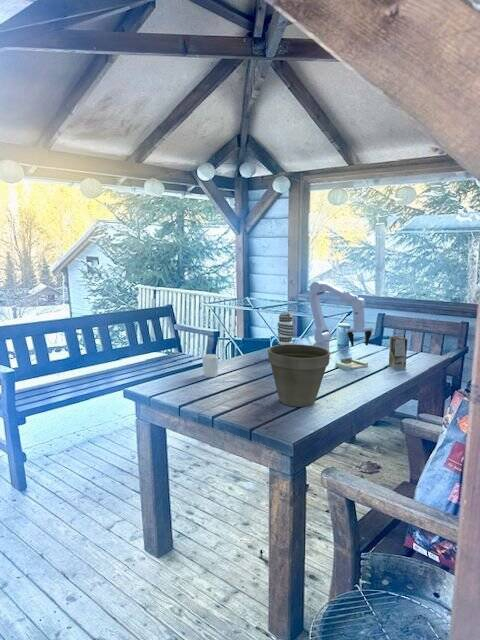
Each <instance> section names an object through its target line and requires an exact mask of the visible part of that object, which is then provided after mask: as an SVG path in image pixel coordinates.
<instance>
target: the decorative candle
mask: <svg viewBox="0 0 480 640" xmlns="http://www.w3.org/2000/svg"><path fill="white" fill-rule="evenodd" d="M277 327H278V328H277V333H278V334H277V337H278V344H277V345H286V344H293V339H292V338H293V333H294V332H293V330H294V328H293V327H294V325H293V315H292V314H291V313H290V312H281V313H280V314H279V315H278V322H277Z"/></svg>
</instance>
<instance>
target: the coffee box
mask: <svg viewBox="0 0 480 640" xmlns="http://www.w3.org/2000/svg"><path fill="white" fill-rule="evenodd" d="M389 337H390V338H389V355H388V356H389V357H388V366H389V367H391V368H392V369H393V370H407V369H406V368H407V366H406V365H407V351H408V350H407V349H408V338H405V337H404V336H400V335H399V336H397V335H395V336H389Z"/></svg>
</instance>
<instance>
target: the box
mask: <svg viewBox="0 0 480 640" xmlns="http://www.w3.org/2000/svg"><path fill="white" fill-rule="evenodd" d="M352 362H356V363H359V364H363V365H365V367H364V368H367V367H369V362H366V361H364V360H360V359H357V358H355V359H352ZM335 367H336V368H339V369H341V370H345V371H350V370H351V371H352V370H353V369H350V367H352V366H351V365H348V364H344V363H341V361H338V362H335Z"/></svg>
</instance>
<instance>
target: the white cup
mask: <svg viewBox="0 0 480 640" xmlns="http://www.w3.org/2000/svg"><path fill="white" fill-rule="evenodd" d="M201 358H202V369H203V370H202V371H203V376H204V377H205V378H216V377H217V376H218V368H219V354H215V353H214V354H213V353H208V354H207V353H206V354H203V355H202V356H201Z"/></svg>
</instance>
